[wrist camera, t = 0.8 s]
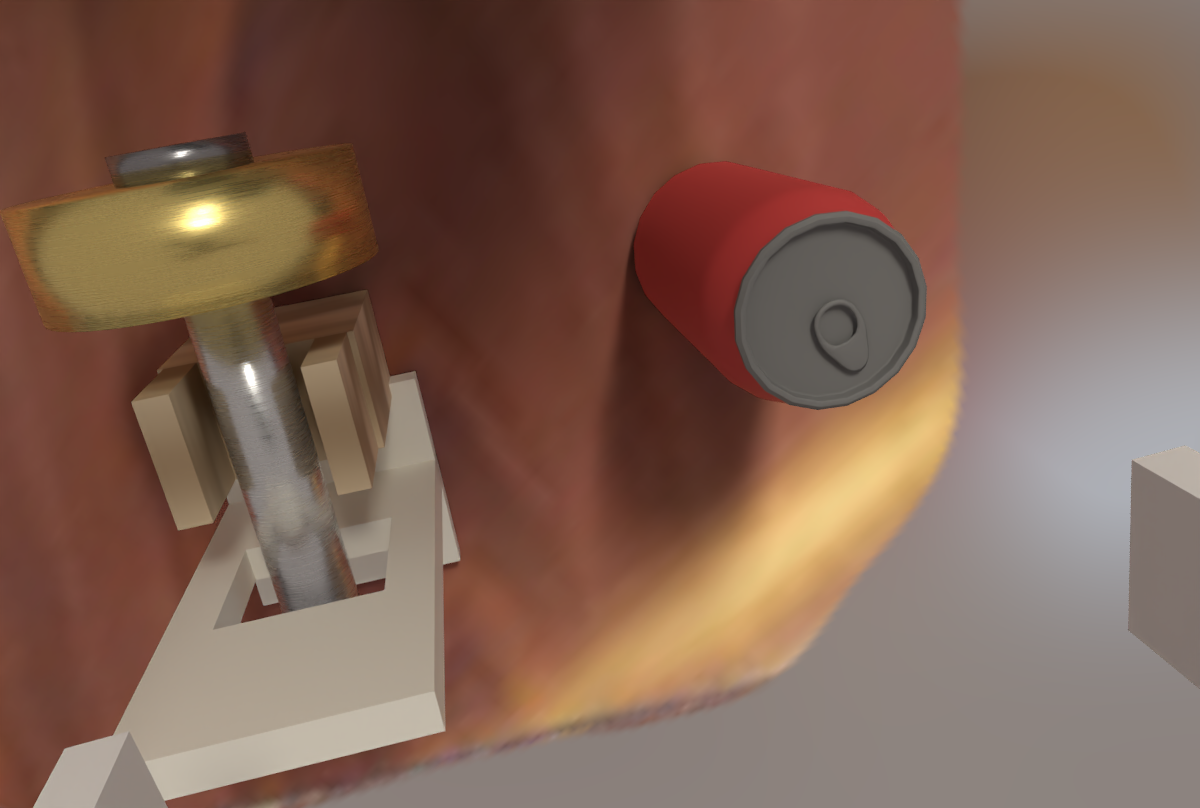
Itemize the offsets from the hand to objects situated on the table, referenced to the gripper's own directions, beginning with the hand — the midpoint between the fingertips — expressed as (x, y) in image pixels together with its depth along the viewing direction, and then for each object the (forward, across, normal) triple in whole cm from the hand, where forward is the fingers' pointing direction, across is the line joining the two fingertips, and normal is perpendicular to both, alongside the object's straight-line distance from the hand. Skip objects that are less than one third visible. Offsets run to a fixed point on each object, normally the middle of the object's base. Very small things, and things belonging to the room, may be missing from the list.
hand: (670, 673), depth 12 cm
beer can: (+26, +8, -1) cm, 27 cm away
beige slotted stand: (+25, -9, -7) cm, 28 cm away
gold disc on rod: (+22, -9, -2) cm, 23 cm away
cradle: (+25, -9, -1) cm, 27 cm away
